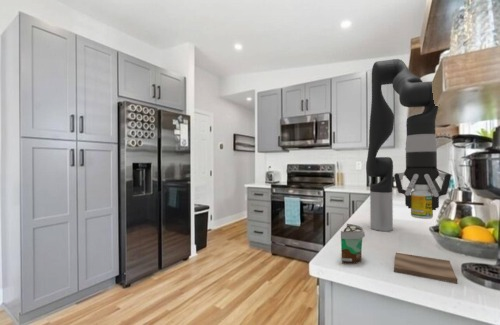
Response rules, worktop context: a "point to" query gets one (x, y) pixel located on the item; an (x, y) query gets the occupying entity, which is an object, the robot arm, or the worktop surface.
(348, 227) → the food container
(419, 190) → the supplement bottle
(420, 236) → the worktop surface
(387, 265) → the worktop surface
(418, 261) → the walnut cutting board
